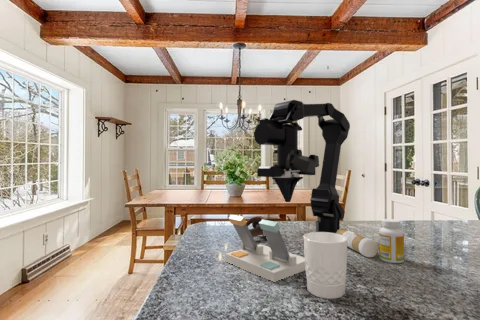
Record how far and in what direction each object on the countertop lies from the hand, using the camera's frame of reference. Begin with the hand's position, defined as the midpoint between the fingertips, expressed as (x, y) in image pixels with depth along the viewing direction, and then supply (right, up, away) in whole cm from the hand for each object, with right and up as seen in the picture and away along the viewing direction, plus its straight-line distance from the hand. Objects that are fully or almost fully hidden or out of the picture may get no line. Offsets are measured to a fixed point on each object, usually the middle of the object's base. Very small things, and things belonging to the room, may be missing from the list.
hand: (287, 201), depth 78 cm
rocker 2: (-4, -10, -16) cm, 20 cm away
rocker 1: (-10, -10, -9) cm, 17 cm away
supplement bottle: (+24, -13, -10) cm, 29 cm away
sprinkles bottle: (+17, -11, +5) cm, 21 cm away
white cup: (+3, -13, -26) cm, 29 cm away
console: (-7, -13, -13) cm, 19 cm away
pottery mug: (-7, -14, +10) cm, 18 cm away
